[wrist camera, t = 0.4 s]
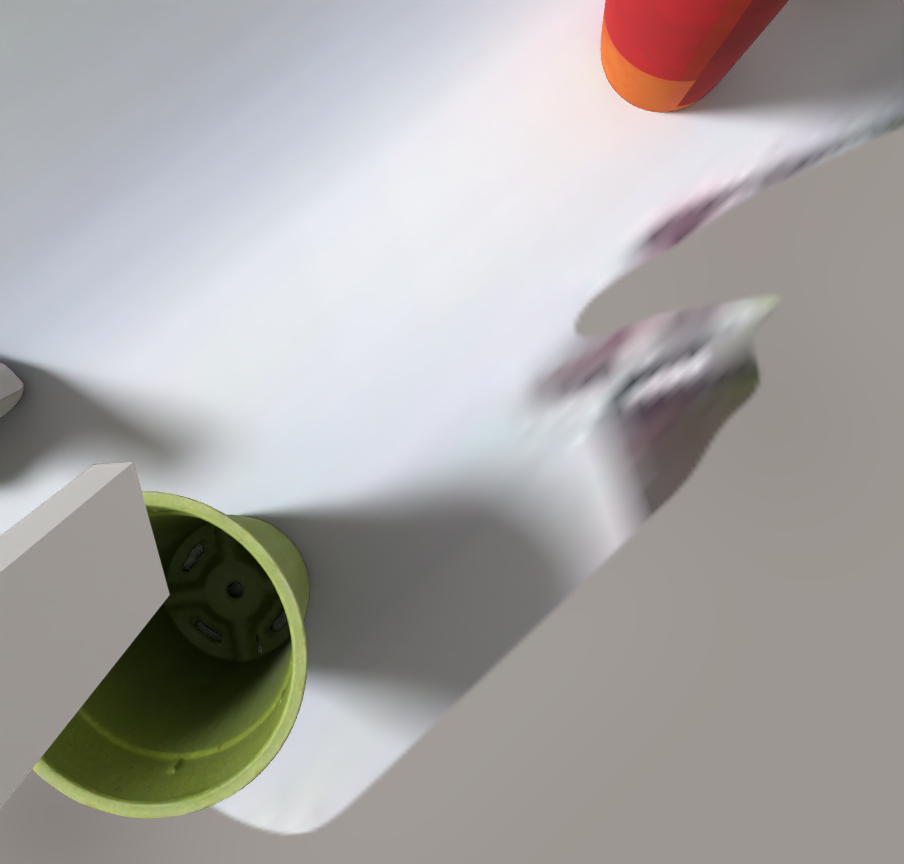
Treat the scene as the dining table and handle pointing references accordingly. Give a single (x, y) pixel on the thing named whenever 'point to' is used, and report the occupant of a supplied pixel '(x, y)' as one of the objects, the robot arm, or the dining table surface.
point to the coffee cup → (677, 46)
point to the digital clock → (9, 389)
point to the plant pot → (194, 674)
